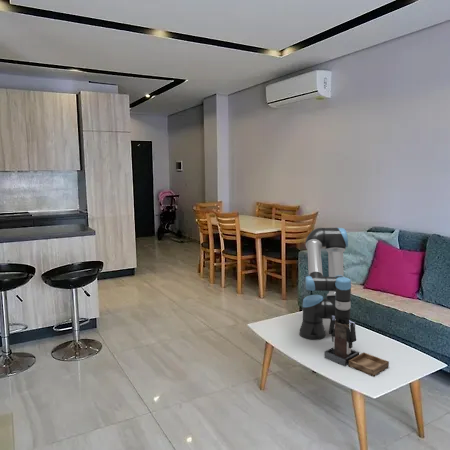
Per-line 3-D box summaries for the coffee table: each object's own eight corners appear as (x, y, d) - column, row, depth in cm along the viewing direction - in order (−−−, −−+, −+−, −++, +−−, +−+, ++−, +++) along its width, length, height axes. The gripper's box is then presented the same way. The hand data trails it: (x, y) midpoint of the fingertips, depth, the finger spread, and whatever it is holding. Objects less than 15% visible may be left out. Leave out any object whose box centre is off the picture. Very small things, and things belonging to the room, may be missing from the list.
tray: (348, 366, 198) (348, 360, 198) (363, 357, 207) (363, 352, 206) (373, 376, 188) (374, 370, 187) (388, 367, 196) (388, 361, 196)
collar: (324, 357, 208) (324, 351, 207) (338, 350, 215) (338, 344, 215) (345, 366, 198) (345, 359, 198) (359, 358, 206) (359, 352, 205)
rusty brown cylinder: (332, 355, 210) (332, 318, 208) (345, 354, 211) (346, 318, 208) (337, 362, 203) (338, 324, 200) (351, 361, 203) (352, 323, 201)
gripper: (321, 304, 208) (321, 346, 212) (356, 315, 193) (355, 359, 196) (330, 301, 213) (329, 342, 216) (364, 311, 198) (363, 355, 201)
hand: (341, 350), depth 206 cm, fingers closed on rusty brown cylinder, 7 cm apart
